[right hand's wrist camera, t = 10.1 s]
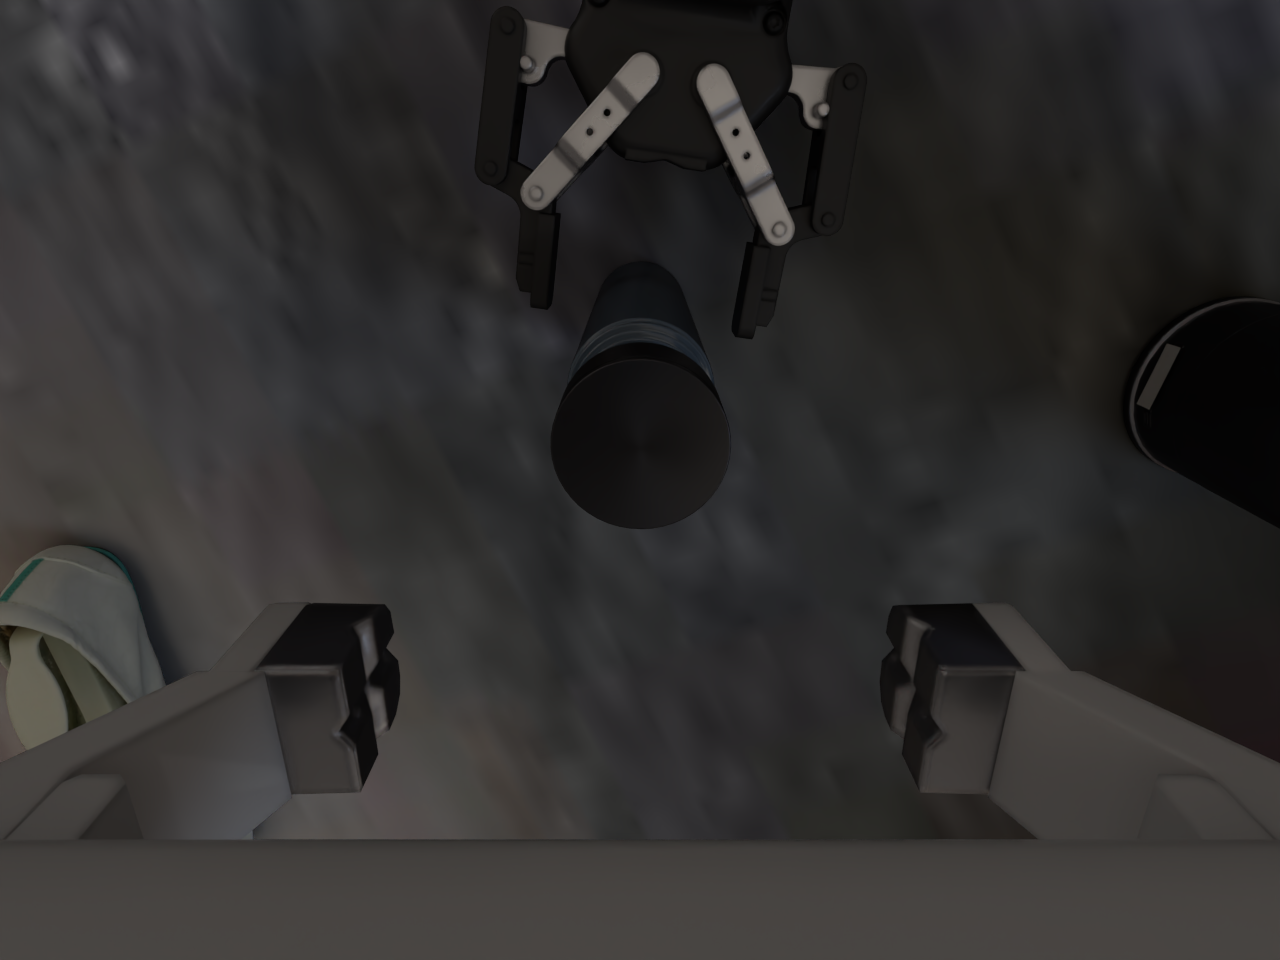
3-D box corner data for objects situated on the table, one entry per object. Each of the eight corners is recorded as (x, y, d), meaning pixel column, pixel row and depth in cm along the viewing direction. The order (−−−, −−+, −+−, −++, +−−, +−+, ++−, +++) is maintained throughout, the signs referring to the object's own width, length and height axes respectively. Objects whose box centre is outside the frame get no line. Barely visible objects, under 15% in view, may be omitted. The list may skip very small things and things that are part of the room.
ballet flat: (165, 857, 52) (87, 969, 44) (-2, 544, 43) (-134, 619, 35) (282, 843, 51) (222, 953, 44) (137, 523, 42) (32, 595, 35)
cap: (726, 341, 19) (735, 359, 17) (719, 498, 21) (726, 529, 19) (555, 341, 19) (545, 358, 17) (562, 498, 21) (554, 529, 19)
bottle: (685, 261, 37) (736, 351, 17) (683, 350, 39) (728, 525, 19) (595, 261, 37) (545, 351, 17) (597, 350, 39) (553, 525, 19)
